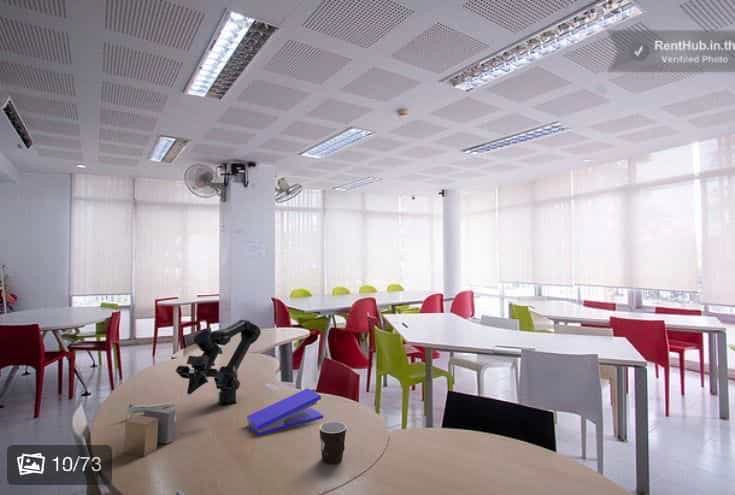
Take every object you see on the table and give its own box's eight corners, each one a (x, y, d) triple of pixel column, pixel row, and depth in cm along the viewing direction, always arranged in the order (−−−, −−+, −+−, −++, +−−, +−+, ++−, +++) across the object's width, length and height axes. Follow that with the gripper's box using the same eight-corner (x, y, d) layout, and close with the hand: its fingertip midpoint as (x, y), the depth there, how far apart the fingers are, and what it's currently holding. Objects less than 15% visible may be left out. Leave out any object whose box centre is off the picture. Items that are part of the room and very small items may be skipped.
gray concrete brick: (149, 436, 132) (151, 407, 133) (173, 439, 130) (175, 410, 130) (142, 439, 129) (144, 410, 130) (167, 443, 127) (168, 413, 127)
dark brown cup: (319, 452, 123) (320, 421, 124) (345, 452, 124) (346, 421, 125) (317, 472, 112) (318, 437, 112) (346, 471, 112) (347, 437, 113)
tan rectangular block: (163, 431, 137) (164, 403, 137) (182, 434, 135) (183, 406, 135) (123, 453, 121) (125, 421, 121) (144, 456, 119) (145, 424, 119)
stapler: (324, 418, 152) (324, 394, 153) (257, 437, 134) (258, 409, 135) (309, 410, 161) (310, 386, 162) (245, 426, 143) (246, 400, 144)
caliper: (127, 422, 145) (127, 405, 146) (125, 421, 146) (126, 405, 146) (175, 405, 163) (176, 390, 164) (174, 405, 164) (174, 390, 164)
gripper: (179, 345, 152) (157, 381, 140) (219, 348, 147) (199, 385, 136) (192, 360, 159) (172, 395, 148) (231, 363, 154) (213, 400, 143)
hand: (188, 393), depth 143 cm, fingers closed
